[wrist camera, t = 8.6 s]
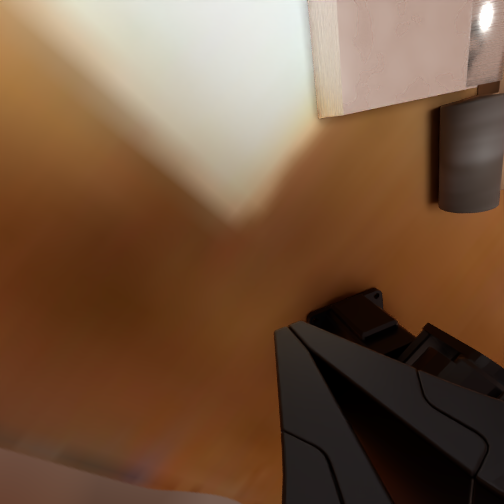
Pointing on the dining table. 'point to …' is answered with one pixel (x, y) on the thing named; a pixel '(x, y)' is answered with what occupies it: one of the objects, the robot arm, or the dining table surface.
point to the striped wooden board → (472, 151)
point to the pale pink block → (401, 50)
